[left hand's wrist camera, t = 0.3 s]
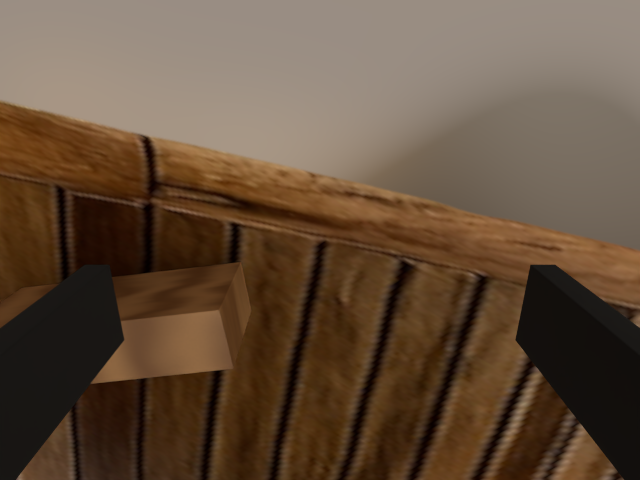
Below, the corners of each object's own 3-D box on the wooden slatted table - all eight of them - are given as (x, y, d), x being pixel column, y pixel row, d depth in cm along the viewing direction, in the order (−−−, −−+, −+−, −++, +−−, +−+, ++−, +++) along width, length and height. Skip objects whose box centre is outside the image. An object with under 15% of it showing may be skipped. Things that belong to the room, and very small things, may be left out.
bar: (241, 261, 41) (219, 309, 32) (251, 310, 43) (233, 368, 34) (21, 287, 42) (-60, 341, 33) (41, 334, 44) (-30, 396, 35)
